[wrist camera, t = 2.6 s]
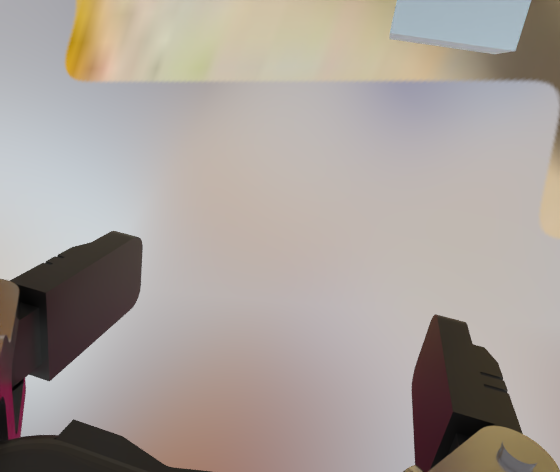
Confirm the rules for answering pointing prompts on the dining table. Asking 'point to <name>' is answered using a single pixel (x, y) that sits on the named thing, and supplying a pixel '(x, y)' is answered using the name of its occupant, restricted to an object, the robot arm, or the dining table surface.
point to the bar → (461, 23)
